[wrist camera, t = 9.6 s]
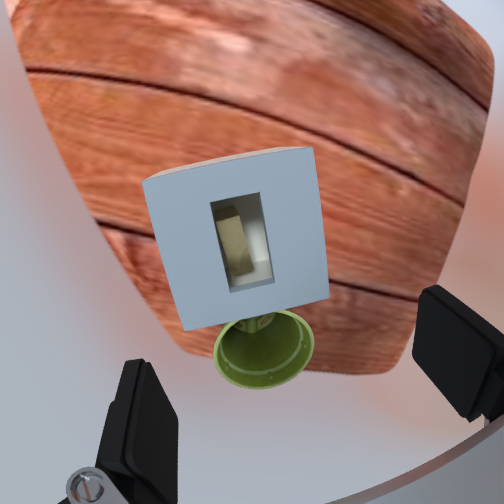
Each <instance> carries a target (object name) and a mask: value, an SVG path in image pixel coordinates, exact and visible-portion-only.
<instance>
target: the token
mask: <svg viewBox="0 0 504 504" xmlns="http://www.w3.org/2000/svg"><path fill="white" fill-rule="evenodd" d="M214 213H215V220H216V224H217V228H218V231H219V234H220V237H221V241H222V244H223V247H224V250H225V254H226V257H227V260H228V263H229V267H230V270H231V273H232V275H235V274H239V273H242V272H246V271H249V270H252V269H254V267H253V263H252V260H251V256H250V253H249V249H248V246H247V242H246V238H245V235H244V231H243V228H242V224H241V221H240V217H239V214H238V212H237V210H236V208H235V206H234V205H231V206H228V207H225V208H221V209H218V210H215V211H214Z"/></svg>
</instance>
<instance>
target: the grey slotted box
mask: <svg viewBox="0 0 504 504" xmlns="http://www.w3.org/2000/svg"><path fill="white" fill-rule="evenodd" d="M142 186H143V190H144V194H145V198H146V202H147V206H148V210H149V214H150V218H151V222H152V226H153V230H154V233H155V237H156V241H157V244H158V248H159V251H160V255H161V258H162V262H163V265H164V269H165V272H166V275H167V279H168V282H169V285H170V288H171V292H172V295H173V298H174V301H175V304H176V307H177V310H178V313H179V316H180V319H181V322H182V325H183V328H184V331H189V330H194V329H199V328H204V327H209V326H214V325H219V324H223V323H228V322H233V321H237V320H242V319H246V318H251V317H255V316H259V315H264V314H268V313H272V312H276V311H280V310H284V309H289V308H293V307H297V306H300V305H304V304H308V303H312V302H316V301H320V300H324V299H327V298H330V295H329V282H328V270H327V259H326V248H325V238H324V229H323V220H322V212H321V203H320V196H319V188H318V180H317V173H316V166H315V160H314V153H313V147H276V148H270V149H264V150H258V151H252V152H247V153H242V154H236V155H231V156H226V157H221V158H216V159H211V160H207V161H202V162H197V163H193V164H189V165H184V166H180V167H176V168H172V169H167V170H163V171H161V172H159V173H157V174H155V175H153V176H151V177H149V178H147V179H145V180H143V181H142ZM231 205H234V206H235V208H236V210H237V212H238V214H239V217H240V221H241V224H242V228H243V231H244V235H245V238H246V242H247V246H248V249H249V253H250V256H251V260H252V263H253V267H254V269H252V270H249V271H246V272H242V273H239V274H235V275H232V273H231V270H230V267H229V263H228V260H227V257H226V254H225V250H224V247H223V244H222V241H221V237H220V234H219V231H218V228H217V224H216V220H215V213H214V211H215V210H218V209H221V208H225V207H228V206H231Z"/></svg>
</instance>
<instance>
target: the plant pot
mask: <svg viewBox="0 0 504 504" xmlns="http://www.w3.org/2000/svg"><path fill="white" fill-rule="evenodd" d="M267 316H269V319H268V320H267V321H266V322H265V323H264V324H261V322H263V321H264V320H265V319H266V318H267ZM236 322H238V323H239V324H241V325H242V326H238V325H236V324H235V323H236ZM313 350H314V335H313V332H312V330H311V328H310V326H309V325H308V324H307V322H306V321H305V320H304V319H303V318H302V317H300V316H299V315H297V314H296V313H294V312H291V311H288V310H286V309H284V310H280V311H276V312H272V313H268V314H264V315H259V316H255V317H251V318H246V319H242V320H237V321H233V322H228V323H223V326H222V330H221V332H220V333H219V335H218V337H217V339H216V341H215V344H214V350H213V358H214V363H215V366H216V368H217V370H218V372H219V373H220V374H221V375H222V377H224V378H225V379H226V380H227V381H228V382H230V383H232V384H234V385H236V386H239V387H242V388H248V389H267V388H272V387H276V386H278V385H281V384H283V383H286V382H288V381H290V380H291V379H293V378H294V377H295V376H297V374H299V373H300V372H301V371H302V370H303V369H304V368H305V366H306V365H307V364H308V362H309V361H310V359H311V357H312V353H313Z"/></svg>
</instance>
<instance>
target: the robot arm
mask: <svg viewBox="0 0 504 504" xmlns="http://www.w3.org/2000/svg"><path fill="white" fill-rule="evenodd" d="M412 356H413V359H414V360H415V362H416V363H417V364H418V365H419V366H420V368H421V369H422V370H423V371H424V372H425V374H426V375H427V376H428V377H429V378H430V379H431V381H432V382H433V383H434V384H435V385H436V387H437V388H438V389H439V390H440V391H441V393H442V394H443V395H444V396H445V397H446V399H447V400H448V401H449V402H450V404H451V405H452V406H453V407H454V409H455V410H456V411H457V412H458V414H459V415H460V416H461V417H463V418H466V419H467V420H468V421H469V423H470V422H472V421H474V420H475V419H476V418H478V417H479V416H481V414H483V415H484V416H485V422H484V428H483V429H481V430H480V431H478V432H477V433H475V434H474V435H472V436H471V437H469V438H468V439H466V440H465V441H463V442H461V443H460V444H458V445H456V446H455V447H453V448H451V449H450V450H448V451H446V452H445V453H443V454H441V455H440V456H437V457H436V458H434V459H432V460H430V461H428V462H426V463H424V464H422V465H421V466H419V467H417V468H415V469H413V470H411V471H409V472H406V473H404V474H403V475H400V476H398V477H396V478H393V479H391V480H389V481H386V482H384V483H382V484H379V485H377V486H374V487H372V488H369V489H367V490H364V491H361V492H359V493H356V494H353V495H350V496H348V497H345V498H342V499H339V500H336V501H332V502H329V503H326V504H504V334H502V333H501V332H500V331H499V330H497V329H496V328H495V327H494V326H492V325H491V324H490V323H489V322H487V321H486V320H485V319H484V318H482V317H481V316H480V315H478V314H477V313H476V312H475V311H473V310H472V309H471V308H469V307H468V306H467V305H465V304H464V303H463V302H461V301H460V300H459V299H457V298H456V297H455V296H453V295H452V294H450V293H449V292H448V291H447V290H445V289H444V288H442V287H441V286H440V285H433V286H431V287H428V288H425V289H424V290H423V291H422V294H421V295H420V296H419V303H418V312H417V320H416V328H415V336H414V343H413V349H412ZM177 463H178V418H177V415H176V413H175V411H174V409H173V407H172V405H171V403H170V401H169V400H168V397H167V395H166V394H165V392H164V390H163V388H162V386H161V384H160V382H159V379H158V377H157V375H156V373H155V371H154V369H153V367H152V365H151V363H150V362H145V360H144V359H136V360H128V361H126V362H125V364H124V367H123V371H122V374H121V378H120V382H119V385H118V389H117V393H116V396H115V400H114V401H113V402H111V404H110V406H109V409H108V413H107V417H106V421H105V426H104V429H103V433H102V437H101V441H100V446H99V450H98V455H97V459H96V464H95V467H85V468H82V469H79V470H77V471H76V472H75V473H73V474H72V475H71V477H70V478H69V479H68V482H67V485H66V494H67V498H65V499H64V500H62V501H61V502H59V503H58V504H177V502H178V490H177V489H178V484H177V482H178V481H177V478H178V475H177V474H178V473H177V471H178V469H177V468H178V464H177Z"/></svg>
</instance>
